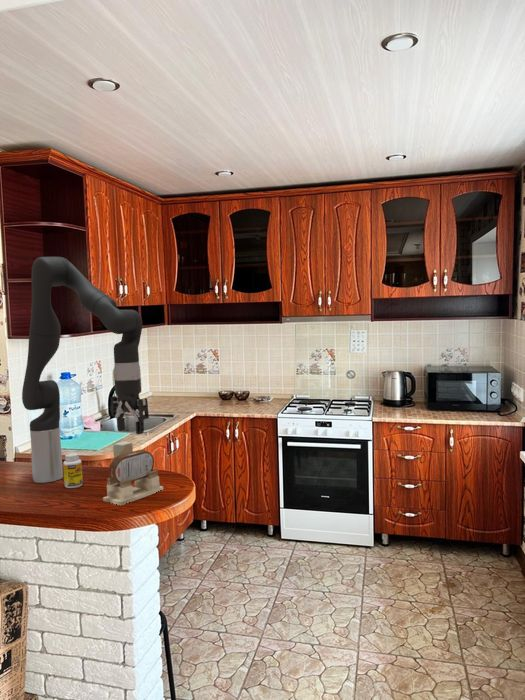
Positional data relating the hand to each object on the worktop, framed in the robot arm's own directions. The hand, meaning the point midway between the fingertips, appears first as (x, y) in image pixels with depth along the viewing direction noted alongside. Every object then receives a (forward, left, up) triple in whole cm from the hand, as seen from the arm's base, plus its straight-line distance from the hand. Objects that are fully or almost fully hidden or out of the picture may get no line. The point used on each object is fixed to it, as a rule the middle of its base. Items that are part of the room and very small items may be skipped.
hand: (130, 432), depth 156 cm
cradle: (0, 0, -19) cm, 19 cm away
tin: (0, 0, -15) cm, 15 cm away
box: (-20, +12, -19) cm, 30 cm away
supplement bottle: (-25, -4, -19) cm, 32 cm away
